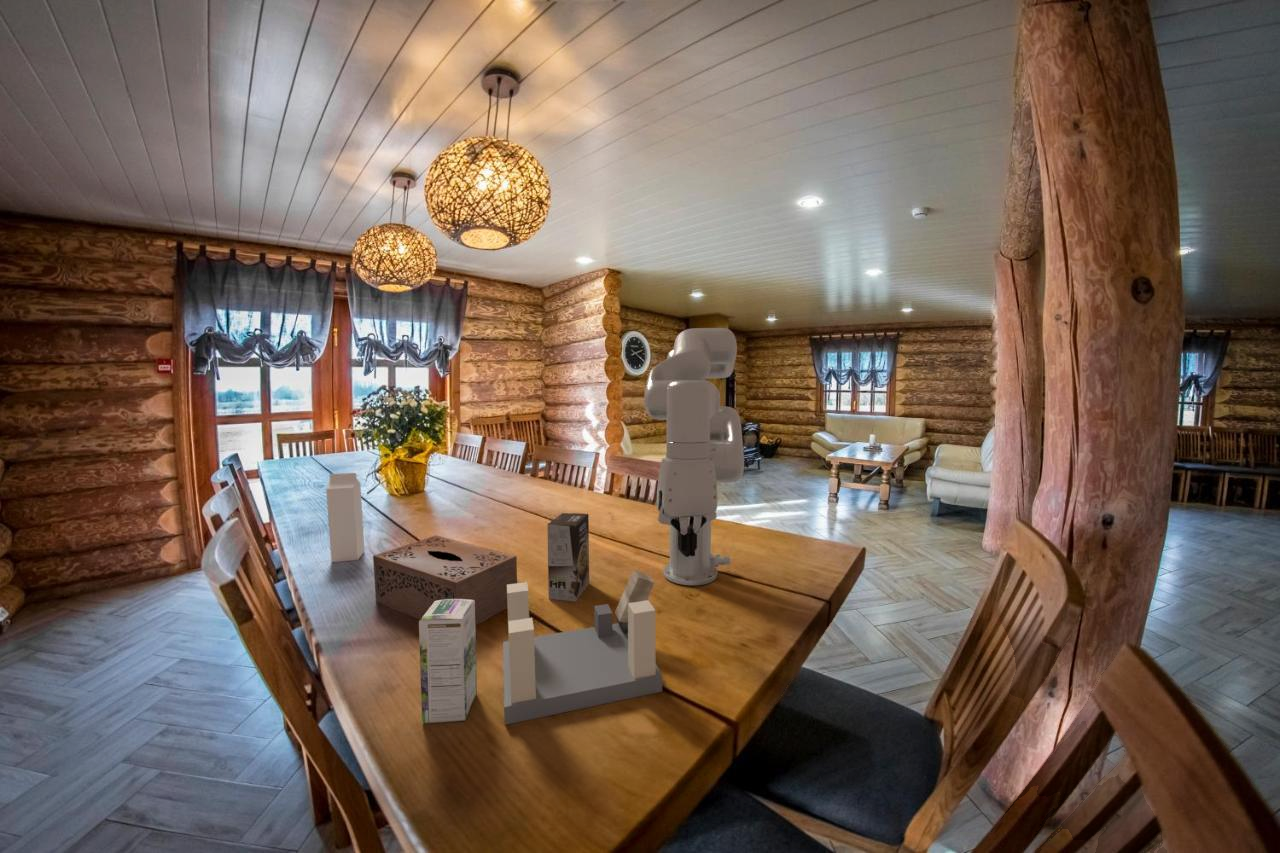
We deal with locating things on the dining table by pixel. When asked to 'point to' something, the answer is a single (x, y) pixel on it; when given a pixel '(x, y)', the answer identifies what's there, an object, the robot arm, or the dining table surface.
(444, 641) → the syrup box
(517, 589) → the footstool
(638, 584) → the folding leg
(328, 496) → the milk
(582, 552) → the coffee box
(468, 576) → the tissue box cover
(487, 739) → the dining table surface
